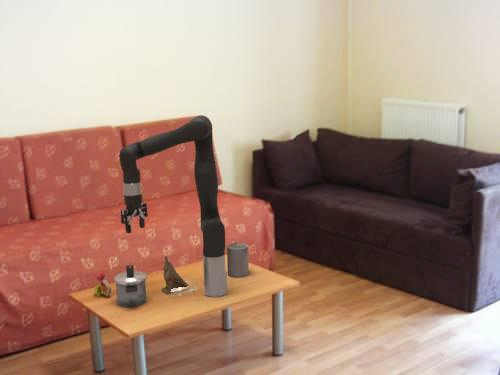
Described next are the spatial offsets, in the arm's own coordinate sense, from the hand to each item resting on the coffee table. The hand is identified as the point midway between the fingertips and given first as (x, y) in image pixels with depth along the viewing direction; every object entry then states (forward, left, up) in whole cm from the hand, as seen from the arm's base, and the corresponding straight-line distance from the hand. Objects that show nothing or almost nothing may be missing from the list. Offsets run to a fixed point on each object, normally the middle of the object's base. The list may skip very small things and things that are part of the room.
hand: (135, 230), depth 299 cm
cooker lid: (+4, +11, -18) cm, 21 cm away
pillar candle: (-45, -10, -28) cm, 54 cm away
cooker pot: (+4, +11, -28) cm, 30 cm away
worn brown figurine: (-15, +2, -28) cm, 32 cm away
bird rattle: (+15, 0, -28) cm, 31 cm away
